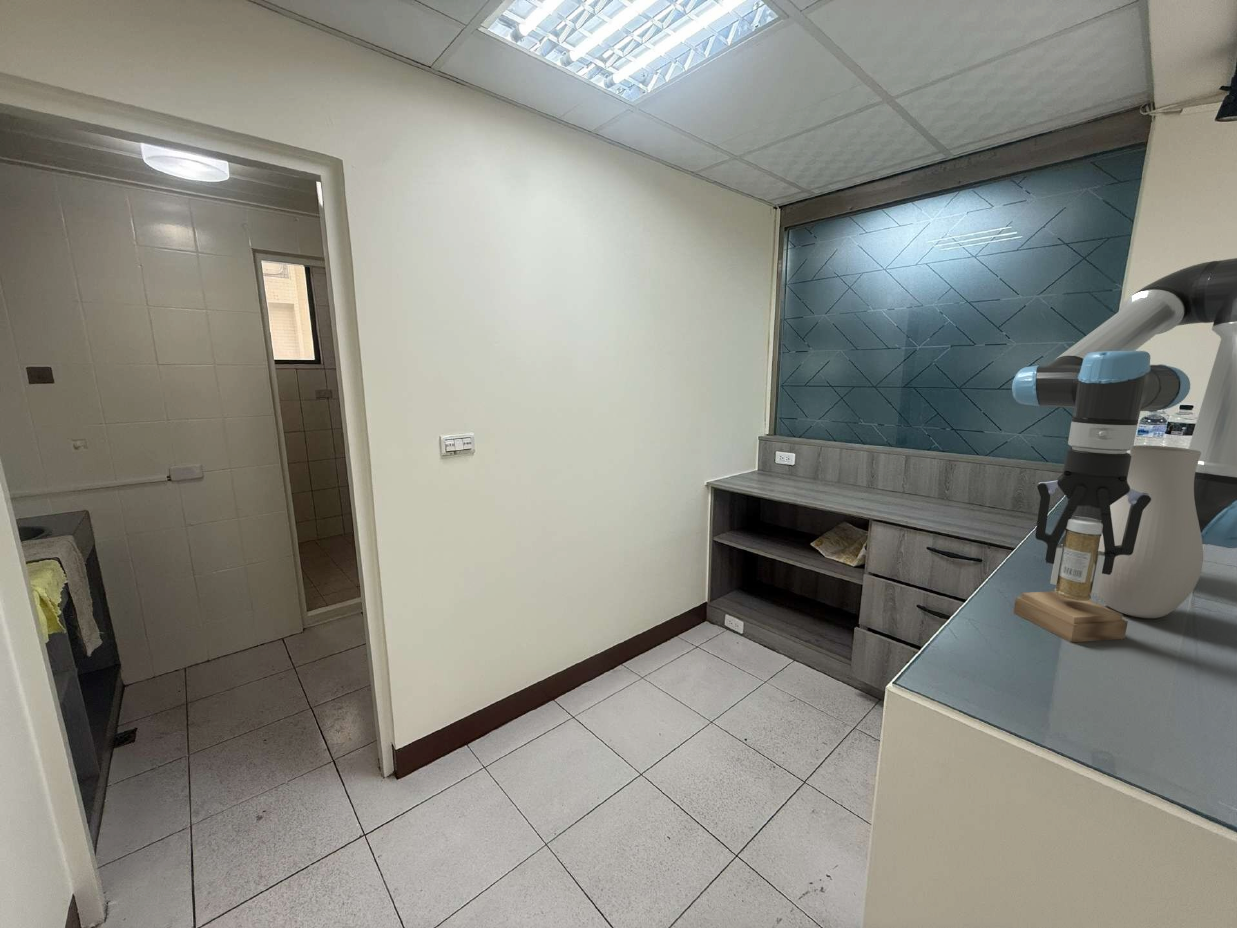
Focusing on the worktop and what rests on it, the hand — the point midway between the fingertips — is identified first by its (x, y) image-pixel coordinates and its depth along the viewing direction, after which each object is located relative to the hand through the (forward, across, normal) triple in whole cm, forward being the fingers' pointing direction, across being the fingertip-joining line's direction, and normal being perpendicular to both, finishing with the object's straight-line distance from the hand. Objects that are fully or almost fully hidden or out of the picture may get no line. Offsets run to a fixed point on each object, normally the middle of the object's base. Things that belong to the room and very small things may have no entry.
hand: (1073, 585), depth 82 cm
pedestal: (+7, 0, 0) cm, 7 cm away
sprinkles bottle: (+2, 0, 0) cm, 2 cm away
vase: (+7, +9, +15) cm, 19 cm away
